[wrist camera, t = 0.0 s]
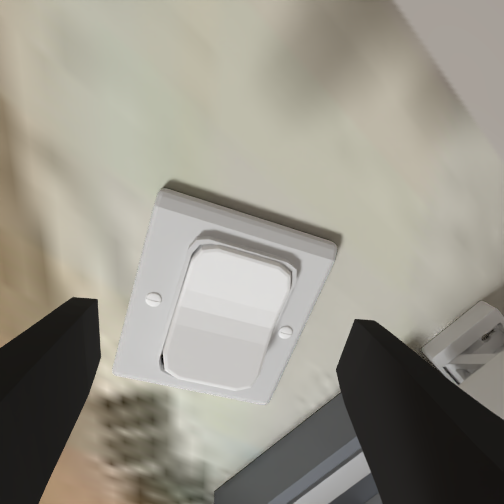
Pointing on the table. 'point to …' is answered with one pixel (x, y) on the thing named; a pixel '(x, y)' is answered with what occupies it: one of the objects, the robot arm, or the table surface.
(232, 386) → the light switch
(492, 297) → the table surface
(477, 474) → the robot arm
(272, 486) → the walled box
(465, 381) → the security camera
